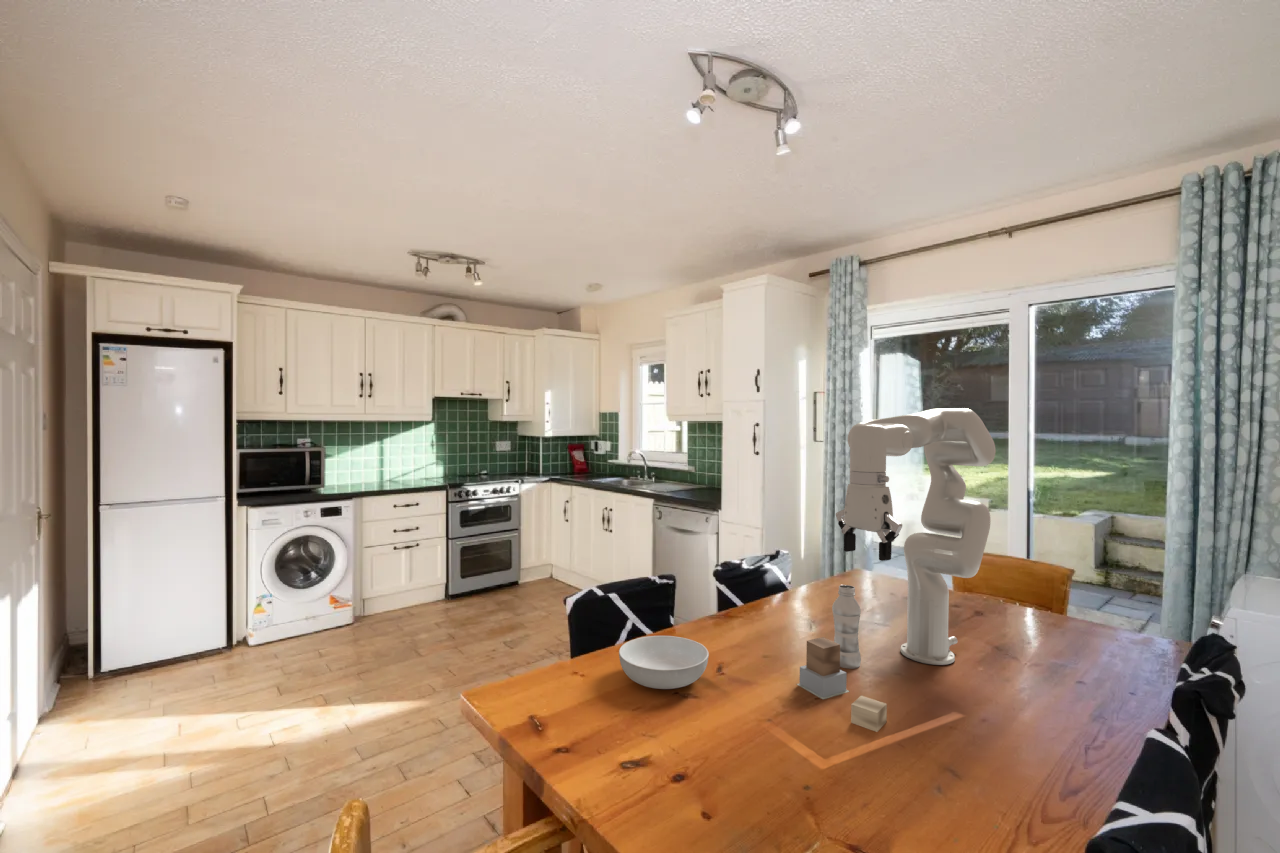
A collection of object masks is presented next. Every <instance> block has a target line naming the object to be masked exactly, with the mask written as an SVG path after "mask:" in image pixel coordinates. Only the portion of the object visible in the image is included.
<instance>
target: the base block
mask: <svg viewBox="0 0 1280 853" xmlns="http://www.w3.org/2000/svg"><path fill="white" fill-rule="evenodd" d="M847 675H848V674H847V672H846V671H844V670H842V669H840V672H837V673H834V674H830V675H826V676H822V675H820V674H818V673H816V672H814V671H812V670H810V669H808V668H806V665H805V664H804V665H801V666H799V683H800V685H801V686H803V687H805V688H807V689H808V690H810V691H812V692H814V693H815V694H817V695H819V696H821V697H822V698H824V697H828V696H831V695H834V694H838V693H841V692H844V691H846V690H847V682H848V680H847V677H848V676H847Z"/></svg>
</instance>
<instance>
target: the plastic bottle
mask: <svg viewBox="0 0 1280 853" xmlns="http://www.w3.org/2000/svg"><path fill="white" fill-rule="evenodd" d="M837 592H838V597H837V598H836V599H835V600H834V602H833V603H832V609H831V610H832V615H833V622H834V623H833V624H834V626H833V627H834V640H833V642H835V643H838V644H840V668H842V669H843V668H844V669H848V670H849V669H858V668H860V666H861V661H862V657H861V651H860V644H859V629H860V628H859V627H860V626H859V625H860V618H861V613H862V611H861V610H862V609H861V606H860V604H859V602H858V600H856V598H855V596H856V588H855V586H853V585H850V584H849V585H848V584H840V585H838V591H837Z"/></svg>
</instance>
